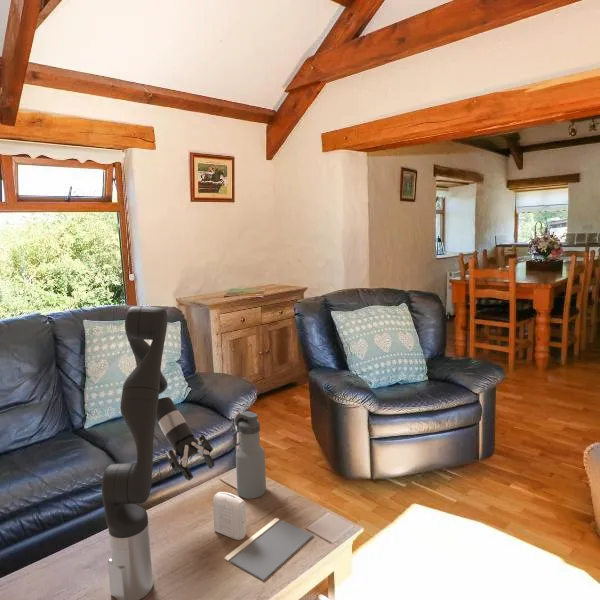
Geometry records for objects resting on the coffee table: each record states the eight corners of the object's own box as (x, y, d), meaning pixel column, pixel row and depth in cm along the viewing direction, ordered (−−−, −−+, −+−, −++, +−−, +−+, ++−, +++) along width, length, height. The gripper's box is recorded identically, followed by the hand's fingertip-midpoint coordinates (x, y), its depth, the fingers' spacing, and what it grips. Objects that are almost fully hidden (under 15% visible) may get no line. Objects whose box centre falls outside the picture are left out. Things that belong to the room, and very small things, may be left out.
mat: (263, 581, 122) (263, 579, 122) (224, 559, 131) (224, 557, 131) (313, 536, 140) (313, 534, 140) (275, 518, 148) (275, 517, 148)
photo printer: (248, 534, 141) (247, 495, 139) (240, 542, 138) (238, 502, 136) (221, 523, 146) (219, 486, 144) (212, 531, 143) (210, 493, 141)
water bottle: (230, 492, 163) (227, 414, 159) (251, 480, 171) (248, 405, 166) (251, 503, 157) (248, 422, 152) (271, 490, 164) (269, 412, 160)
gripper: (161, 430, 143) (189, 477, 138) (198, 415, 155) (224, 458, 150) (151, 442, 147) (178, 488, 142) (188, 426, 159) (213, 469, 154)
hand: (202, 473), depth 146 cm, fingers open, 8 cm apart
